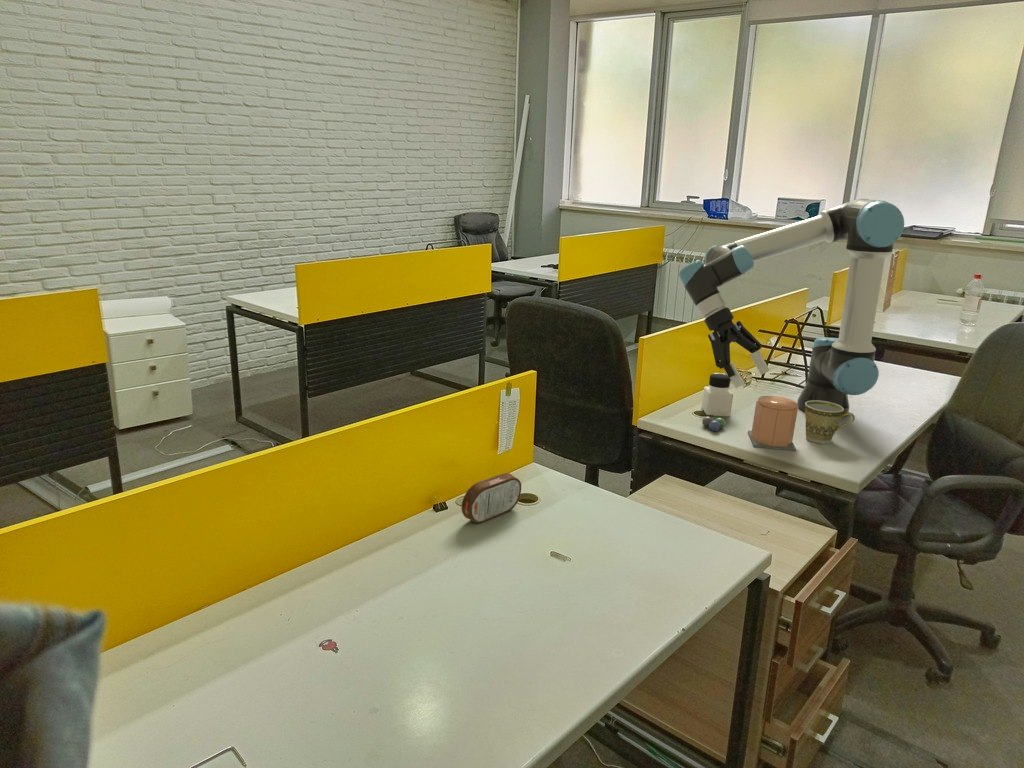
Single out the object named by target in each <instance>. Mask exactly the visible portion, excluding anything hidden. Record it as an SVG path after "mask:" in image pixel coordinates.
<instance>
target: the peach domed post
mask: <svg viewBox="0 0 1024 768" xmlns="http://www.w3.org/2000/svg"><path fill="white" fill-rule="evenodd" d="M798 410H799V408H798V407H797V402H796V401H794V400H793V399H789V398H787V397H783V396H777V395H762V396H760V397H758V399H757V400H756V401H755V407H754V414H753V421H752V427H751V428H752V429H751V431H752V433H751V437H752V438H753V439H754V440H755V441H756V442H758V443H762V444H765V445H769V446H788V445H789V444H791V443H792V442H793V441H794V433H795V427H796V423H797V415H798Z"/></svg>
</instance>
